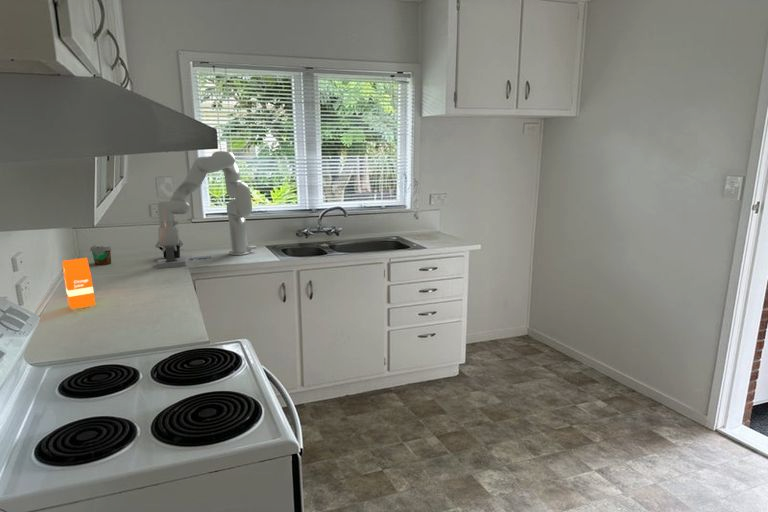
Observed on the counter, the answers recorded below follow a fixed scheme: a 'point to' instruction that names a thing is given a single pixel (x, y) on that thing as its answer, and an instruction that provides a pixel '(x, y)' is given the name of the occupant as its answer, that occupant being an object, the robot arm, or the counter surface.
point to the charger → (170, 253)
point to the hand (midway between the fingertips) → (170, 257)
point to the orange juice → (78, 283)
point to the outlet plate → (171, 263)
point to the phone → (200, 257)
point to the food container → (101, 255)
